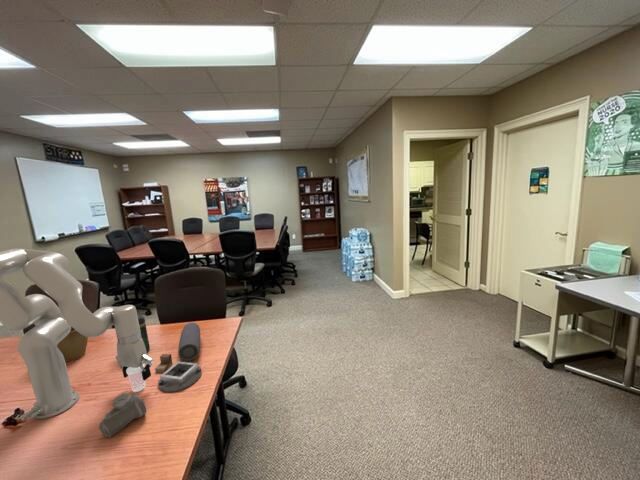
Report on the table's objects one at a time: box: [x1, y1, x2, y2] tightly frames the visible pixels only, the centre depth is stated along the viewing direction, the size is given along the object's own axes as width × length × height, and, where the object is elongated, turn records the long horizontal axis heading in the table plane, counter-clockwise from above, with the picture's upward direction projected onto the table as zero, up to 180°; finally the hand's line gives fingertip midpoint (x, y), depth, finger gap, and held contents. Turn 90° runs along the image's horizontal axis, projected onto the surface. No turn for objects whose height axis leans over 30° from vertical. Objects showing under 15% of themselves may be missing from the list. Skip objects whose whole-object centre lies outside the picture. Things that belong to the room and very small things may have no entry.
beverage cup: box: [126, 364, 147, 393], centre depth 110 cm, size 6×6×14 cm
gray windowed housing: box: [157, 360, 202, 393], centre depth 115 cm, size 16×16×4 cm
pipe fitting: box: [98, 392, 148, 438], centre depth 93 cm, size 12×8×10 cm
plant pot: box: [57, 327, 89, 362], centre depth 135 cm, size 15×15×16 cm
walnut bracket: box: [154, 353, 174, 373], centre depth 123 cm, size 6×4×5 cm, turn 176°
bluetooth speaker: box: [177, 322, 202, 362], centre depth 136 cm, size 23×9×10 cm, turn 22°
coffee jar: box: [137, 313, 151, 352], centre depth 137 cm, size 10×8×19 cm
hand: (137, 376), depth 111 cm, fingers open, 9 cm apart
